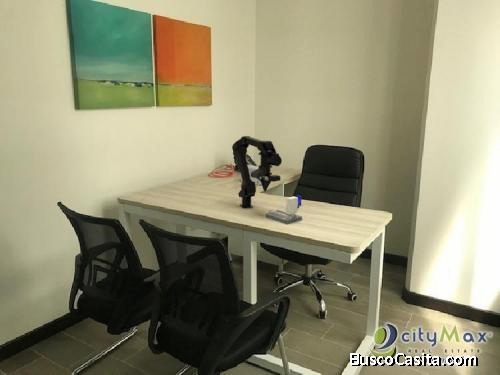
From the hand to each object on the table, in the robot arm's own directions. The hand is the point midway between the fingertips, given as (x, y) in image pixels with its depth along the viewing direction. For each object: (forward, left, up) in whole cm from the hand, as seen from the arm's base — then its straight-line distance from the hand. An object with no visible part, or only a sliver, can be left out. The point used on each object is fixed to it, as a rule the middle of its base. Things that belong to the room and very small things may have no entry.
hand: (264, 191), depth 226 cm
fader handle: (+17, +9, -11) cm, 22 cm away
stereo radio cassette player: (-79, +17, -13) cm, 82 cm away
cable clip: (-8, +23, -13) cm, 28 cm away
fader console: (+12, +7, -13) cm, 19 cm away
